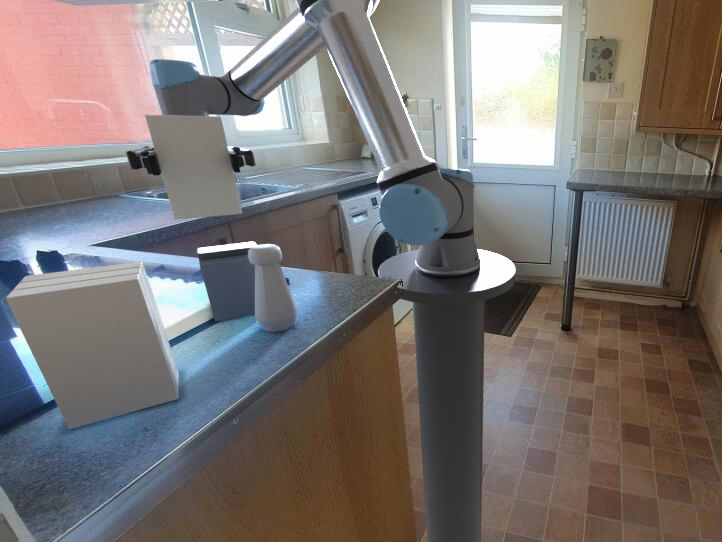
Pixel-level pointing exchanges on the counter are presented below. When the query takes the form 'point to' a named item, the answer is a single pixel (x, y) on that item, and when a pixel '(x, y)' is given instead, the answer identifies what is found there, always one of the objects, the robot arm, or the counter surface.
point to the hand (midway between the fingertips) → (196, 164)
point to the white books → (97, 340)
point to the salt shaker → (271, 289)
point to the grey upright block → (229, 279)
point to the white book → (195, 165)
